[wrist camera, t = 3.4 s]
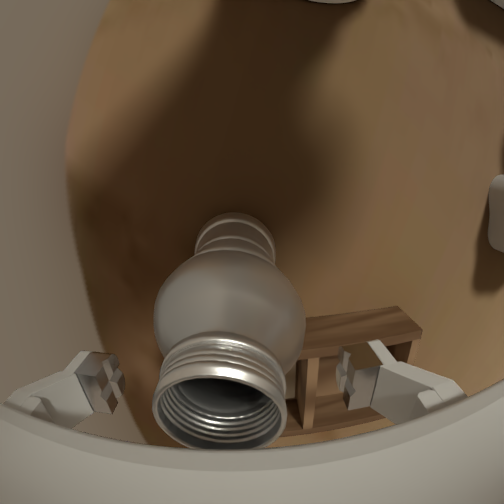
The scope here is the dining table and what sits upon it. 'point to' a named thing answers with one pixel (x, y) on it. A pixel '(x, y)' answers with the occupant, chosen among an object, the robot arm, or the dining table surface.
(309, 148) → the dining table surface
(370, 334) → the bottle carrier
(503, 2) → the tea box
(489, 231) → the lumpy-topped squat cylinder
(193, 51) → the dining table surface
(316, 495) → the robot arm
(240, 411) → the metal bottle
